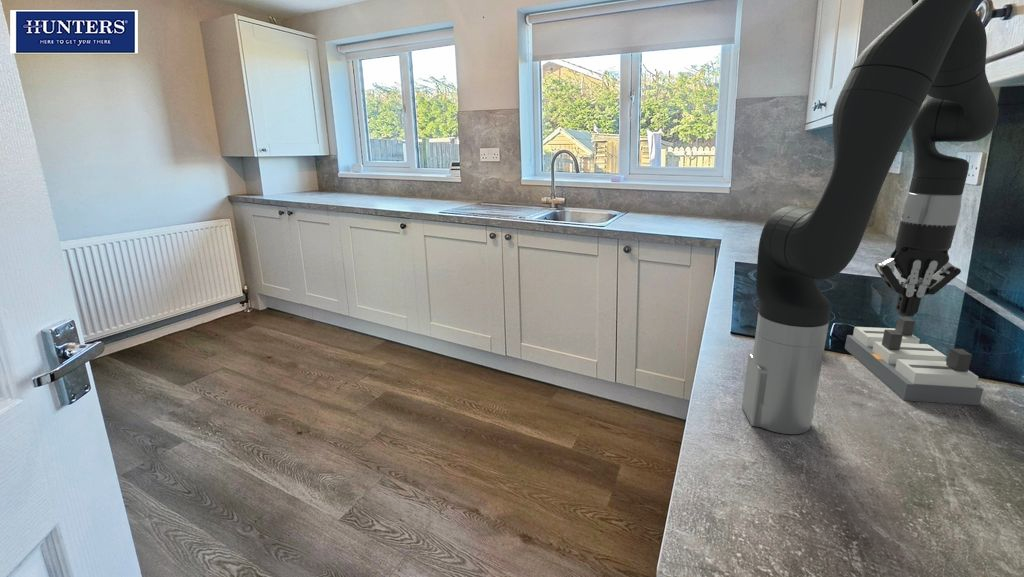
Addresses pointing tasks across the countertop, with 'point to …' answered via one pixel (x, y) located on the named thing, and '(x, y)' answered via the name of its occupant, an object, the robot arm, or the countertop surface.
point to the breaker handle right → (959, 360)
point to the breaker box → (913, 369)
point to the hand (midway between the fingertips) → (905, 315)
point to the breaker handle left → (905, 325)
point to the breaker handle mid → (892, 339)
